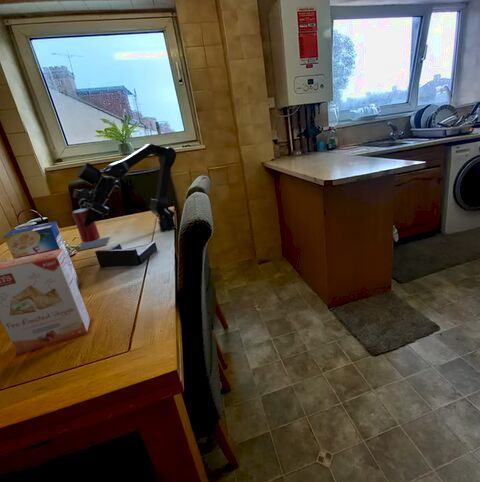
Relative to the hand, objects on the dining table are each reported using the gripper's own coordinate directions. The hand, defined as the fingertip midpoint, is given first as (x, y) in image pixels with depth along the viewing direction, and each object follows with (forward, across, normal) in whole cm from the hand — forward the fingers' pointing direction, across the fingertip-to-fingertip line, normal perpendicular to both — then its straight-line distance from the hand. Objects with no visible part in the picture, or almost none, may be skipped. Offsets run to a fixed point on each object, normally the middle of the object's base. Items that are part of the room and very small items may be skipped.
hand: (82, 225), depth 110 cm
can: (+4, 0, +6) cm, 7 cm away
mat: (+6, -15, +13) cm, 21 cm away
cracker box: (+26, +49, -7) cm, 55 cm away
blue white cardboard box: (+22, +24, -3) cm, 33 cm away
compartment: (+4, +20, +15) cm, 25 cm away
